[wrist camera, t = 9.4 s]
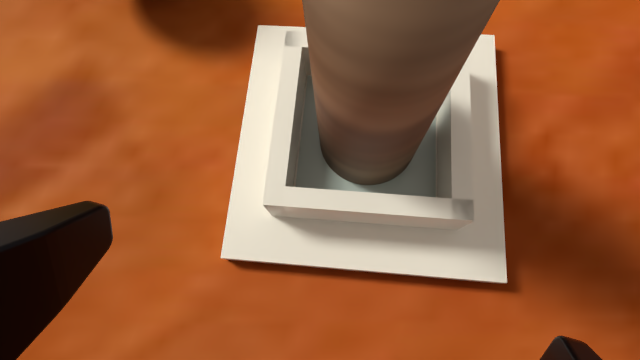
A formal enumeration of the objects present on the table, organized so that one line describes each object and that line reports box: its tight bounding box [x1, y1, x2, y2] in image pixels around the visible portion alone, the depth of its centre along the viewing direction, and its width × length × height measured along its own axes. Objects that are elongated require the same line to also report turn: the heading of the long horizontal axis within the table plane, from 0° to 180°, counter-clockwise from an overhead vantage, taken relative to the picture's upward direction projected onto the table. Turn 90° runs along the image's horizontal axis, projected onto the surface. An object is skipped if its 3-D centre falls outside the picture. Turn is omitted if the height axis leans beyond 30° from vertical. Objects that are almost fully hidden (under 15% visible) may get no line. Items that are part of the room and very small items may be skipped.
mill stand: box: [221, 25, 507, 284], centre depth 17 cm, size 12×12×3 cm
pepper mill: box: [302, 0, 500, 185], centre depth 10 cm, size 4×4×16 cm
